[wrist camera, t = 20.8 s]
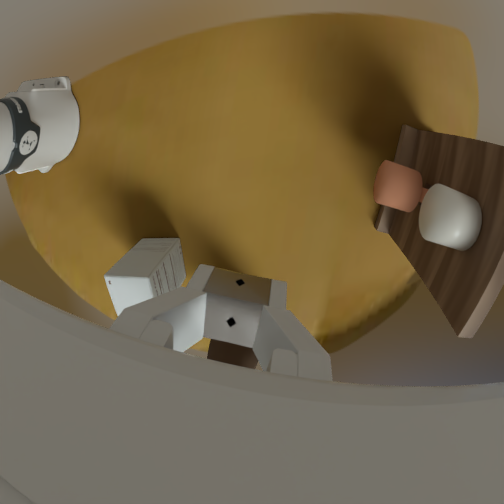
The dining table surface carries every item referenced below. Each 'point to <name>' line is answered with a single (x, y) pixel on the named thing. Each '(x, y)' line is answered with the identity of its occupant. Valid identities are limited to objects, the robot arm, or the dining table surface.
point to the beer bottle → (232, 354)
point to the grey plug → (449, 218)
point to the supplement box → (146, 272)
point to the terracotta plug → (398, 186)
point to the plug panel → (442, 257)
